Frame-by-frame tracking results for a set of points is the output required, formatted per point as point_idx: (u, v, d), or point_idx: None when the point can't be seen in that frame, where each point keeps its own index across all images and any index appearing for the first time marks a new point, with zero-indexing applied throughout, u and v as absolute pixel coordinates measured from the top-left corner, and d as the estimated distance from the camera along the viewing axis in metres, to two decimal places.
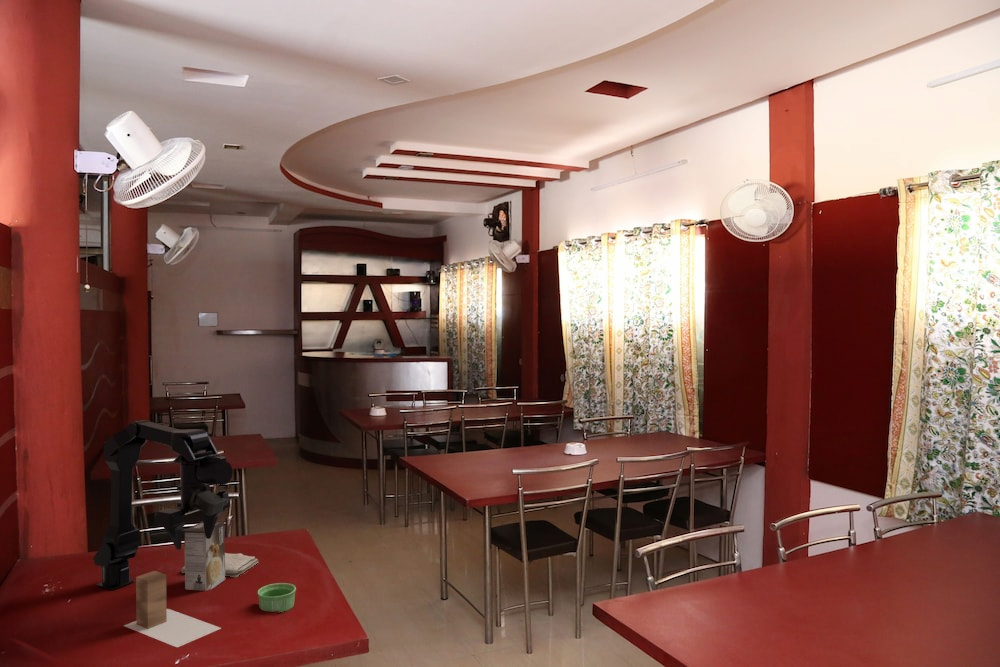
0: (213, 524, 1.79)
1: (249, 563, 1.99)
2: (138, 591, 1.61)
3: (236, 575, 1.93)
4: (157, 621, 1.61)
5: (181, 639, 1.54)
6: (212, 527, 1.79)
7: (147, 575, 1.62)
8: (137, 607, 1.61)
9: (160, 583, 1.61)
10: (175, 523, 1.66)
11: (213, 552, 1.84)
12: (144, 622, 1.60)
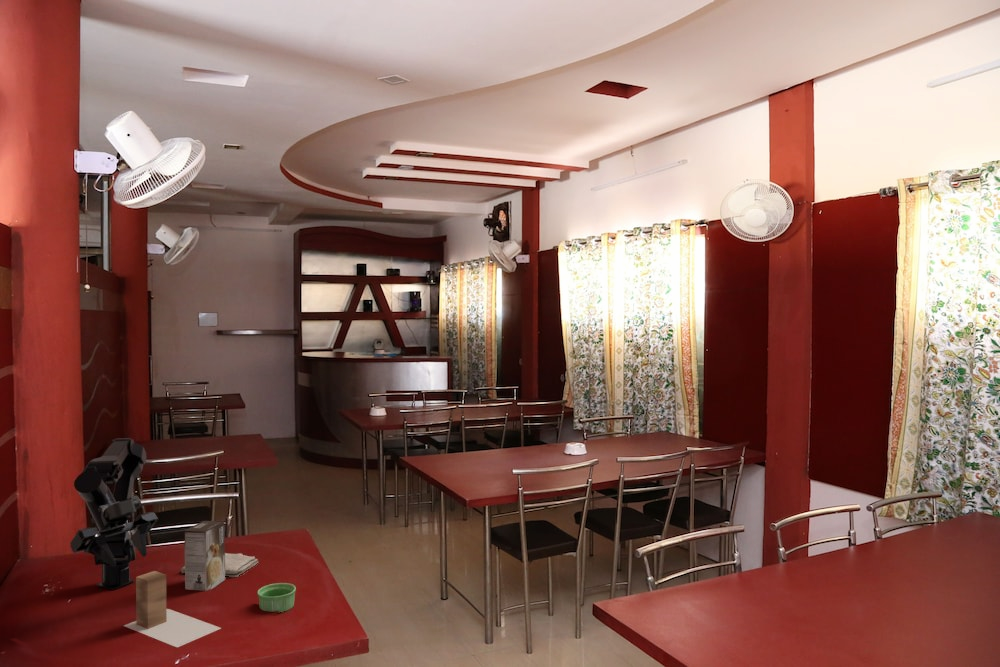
0: (143, 540, 1.71)
1: (249, 563, 1.99)
2: (138, 591, 1.61)
3: (236, 575, 1.92)
4: (157, 621, 1.61)
5: (181, 639, 1.54)
6: (143, 543, 1.70)
7: (147, 575, 1.62)
8: (137, 607, 1.61)
9: (160, 583, 1.61)
10: (86, 535, 1.61)
11: (213, 552, 1.84)
12: (144, 622, 1.60)
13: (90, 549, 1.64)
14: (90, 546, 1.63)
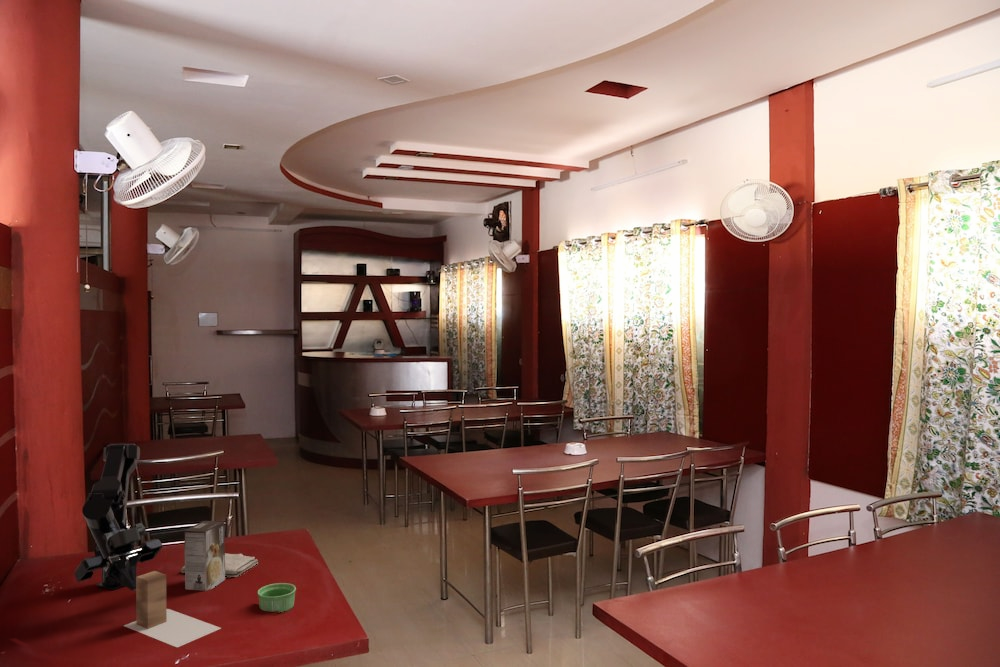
0: (133, 572, 1.67)
1: (249, 563, 1.98)
2: (138, 591, 1.61)
3: (235, 575, 1.92)
4: (157, 621, 1.61)
5: (181, 639, 1.54)
6: (133, 575, 1.66)
7: (147, 575, 1.62)
8: (137, 607, 1.61)
9: (160, 583, 1.61)
10: (91, 564, 1.60)
11: (213, 552, 1.84)
12: (144, 622, 1.60)
13: (110, 573, 1.66)
14: (110, 570, 1.65)
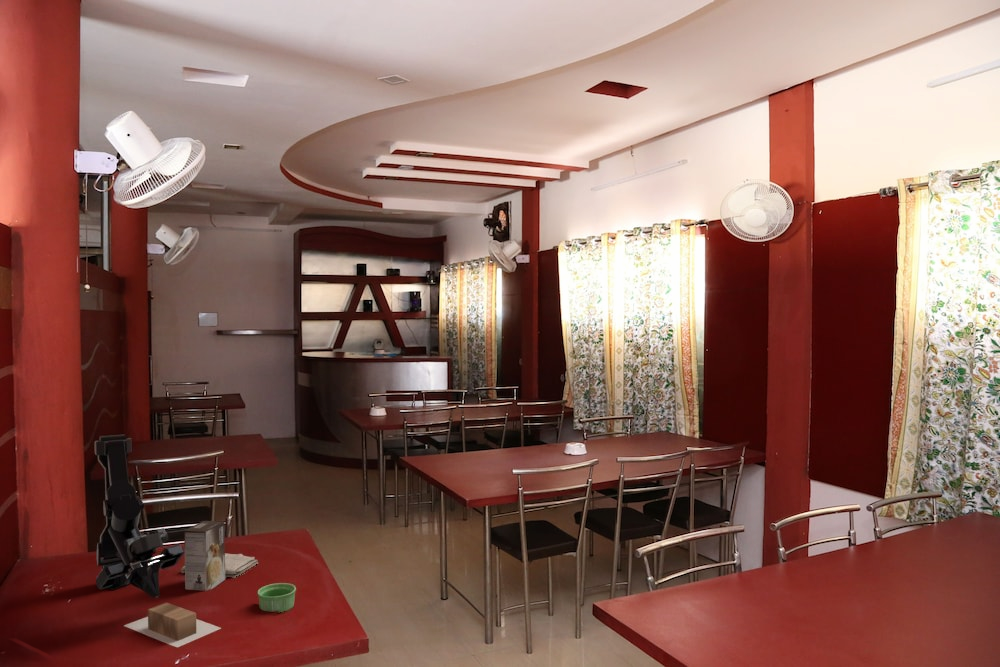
0: (155, 579, 1.62)
1: (248, 564, 1.98)
2: (168, 621, 1.55)
3: (234, 576, 1.92)
4: None
5: (181, 639, 1.54)
6: (156, 582, 1.62)
7: (185, 623, 1.55)
8: (158, 614, 1.57)
9: None
10: (113, 571, 1.55)
11: (213, 552, 1.84)
12: (151, 623, 1.58)
13: (131, 580, 1.61)
14: (131, 577, 1.60)
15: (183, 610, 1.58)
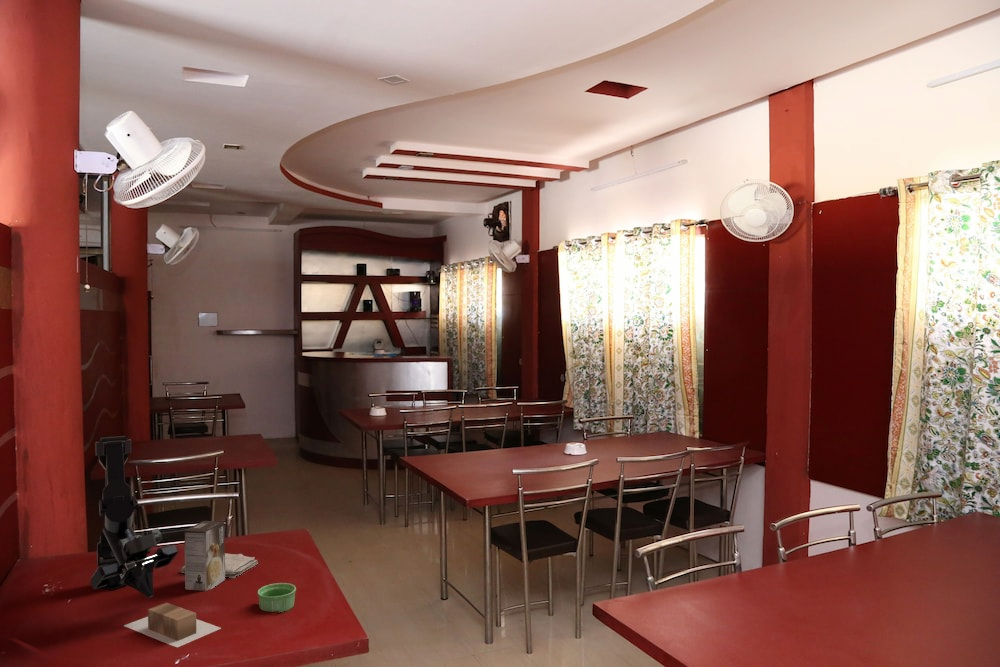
0: (149, 579, 1.64)
1: (248, 564, 1.98)
2: (168, 621, 1.55)
3: (233, 576, 1.92)
4: None
5: (181, 639, 1.54)
6: (150, 582, 1.63)
7: (185, 623, 1.55)
8: (158, 614, 1.57)
9: None
10: (107, 572, 1.57)
11: (213, 552, 1.84)
12: (151, 623, 1.58)
13: (125, 580, 1.63)
14: (126, 577, 1.62)
15: (183, 610, 1.58)
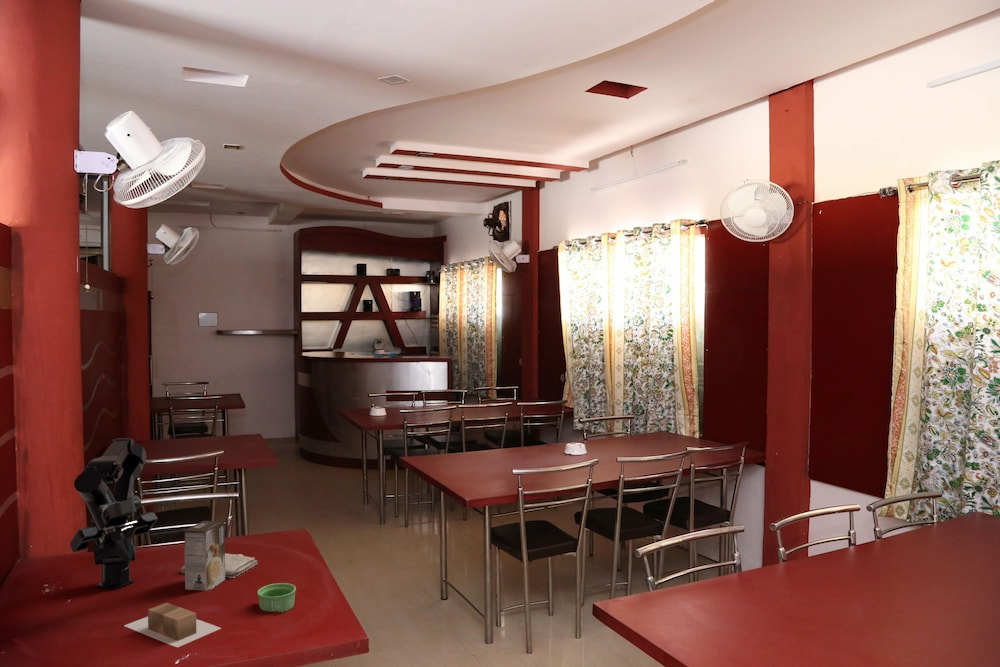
0: (128, 544, 1.68)
1: (247, 564, 1.98)
2: (168, 621, 1.55)
3: (233, 576, 1.92)
4: None
5: (181, 639, 1.54)
6: (129, 547, 1.67)
7: (185, 623, 1.55)
8: (158, 614, 1.57)
9: None
10: (87, 534, 1.61)
11: (213, 552, 1.84)
12: (151, 623, 1.58)
13: (105, 545, 1.67)
14: (105, 542, 1.66)
15: (183, 610, 1.58)
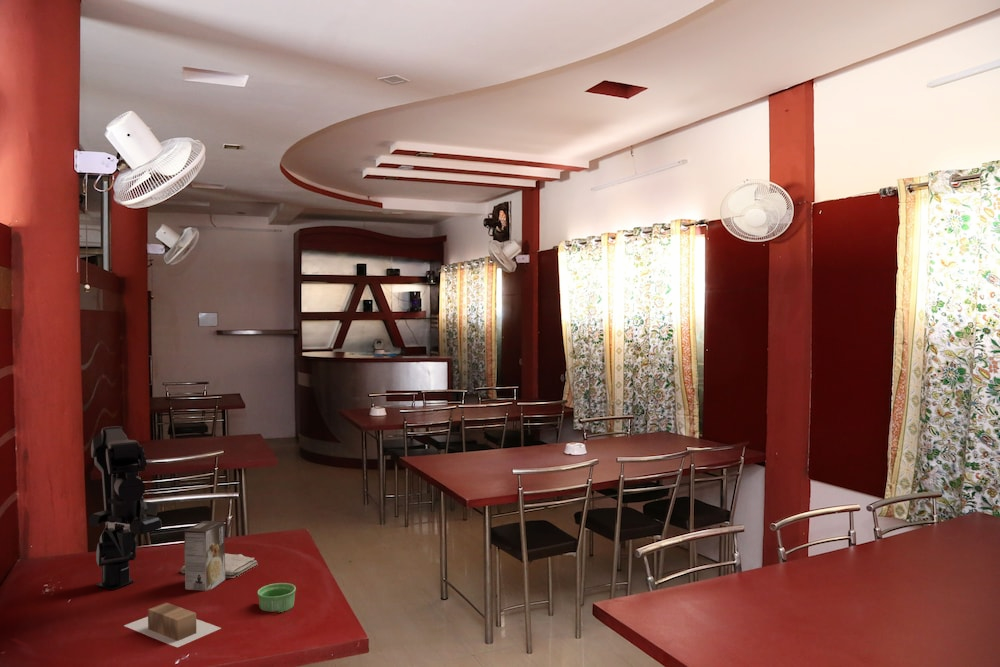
0: None
1: (247, 565, 1.98)
2: (168, 621, 1.55)
3: (232, 577, 1.91)
4: None
5: (181, 639, 1.54)
6: None
7: (185, 623, 1.55)
8: (158, 614, 1.57)
9: None
10: None
11: (213, 552, 1.84)
12: (151, 623, 1.58)
13: None
14: None
15: (183, 610, 1.58)
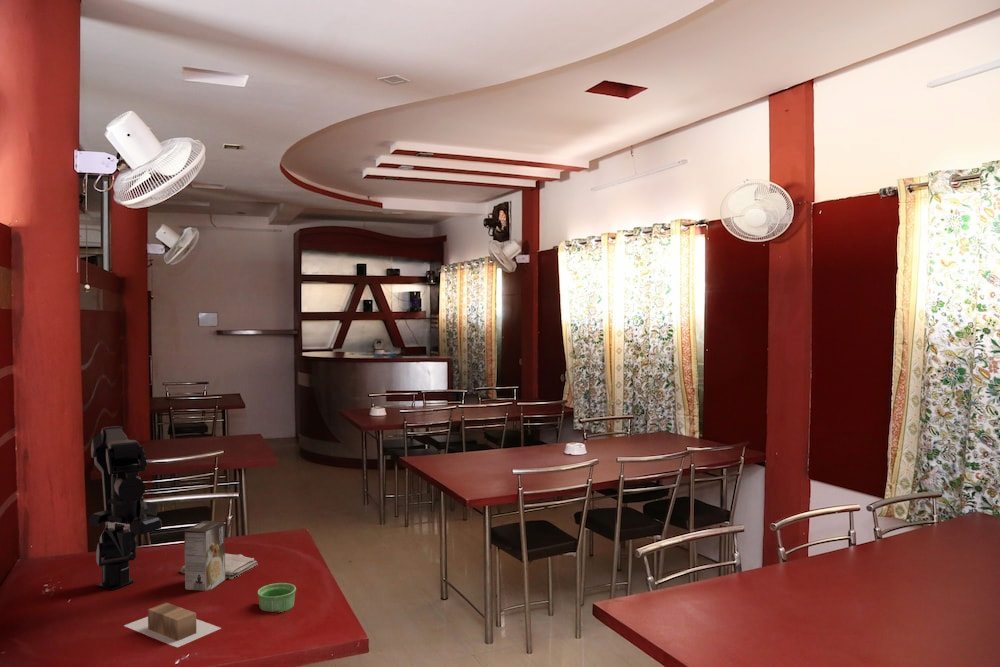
0: None
1: (247, 565, 1.97)
2: (168, 621, 1.55)
3: (231, 577, 1.91)
4: None
5: (181, 639, 1.54)
6: None
7: (185, 623, 1.55)
8: (158, 614, 1.57)
9: None
10: None
11: (213, 552, 1.84)
12: (151, 623, 1.58)
13: None
14: None
15: (183, 610, 1.58)
